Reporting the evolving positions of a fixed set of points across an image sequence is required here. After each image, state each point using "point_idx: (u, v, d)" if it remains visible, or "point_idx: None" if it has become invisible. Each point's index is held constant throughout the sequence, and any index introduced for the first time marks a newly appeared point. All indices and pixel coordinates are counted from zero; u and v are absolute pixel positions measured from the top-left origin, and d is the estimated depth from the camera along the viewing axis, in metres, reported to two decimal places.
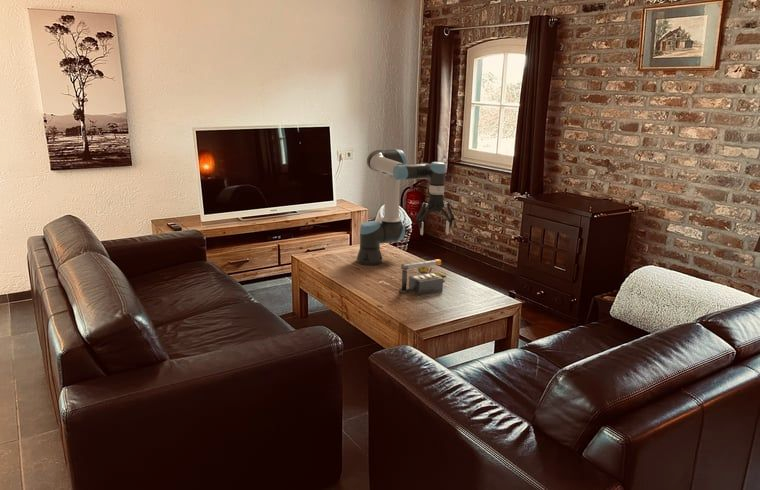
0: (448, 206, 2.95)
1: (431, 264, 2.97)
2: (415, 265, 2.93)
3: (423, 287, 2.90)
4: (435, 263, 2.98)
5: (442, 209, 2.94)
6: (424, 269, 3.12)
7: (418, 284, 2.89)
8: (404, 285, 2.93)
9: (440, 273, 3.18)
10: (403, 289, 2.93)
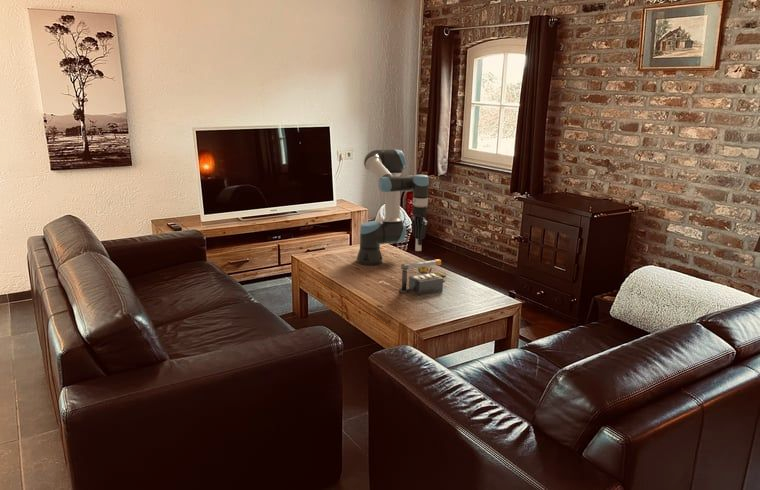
0: (422, 224, 2.92)
1: (431, 264, 2.97)
2: (415, 265, 2.93)
3: (423, 287, 2.90)
4: (435, 263, 2.98)
5: (418, 223, 2.95)
6: (424, 269, 3.12)
7: (418, 284, 2.89)
8: (404, 285, 2.93)
9: (440, 273, 3.18)
10: (403, 289, 2.93)
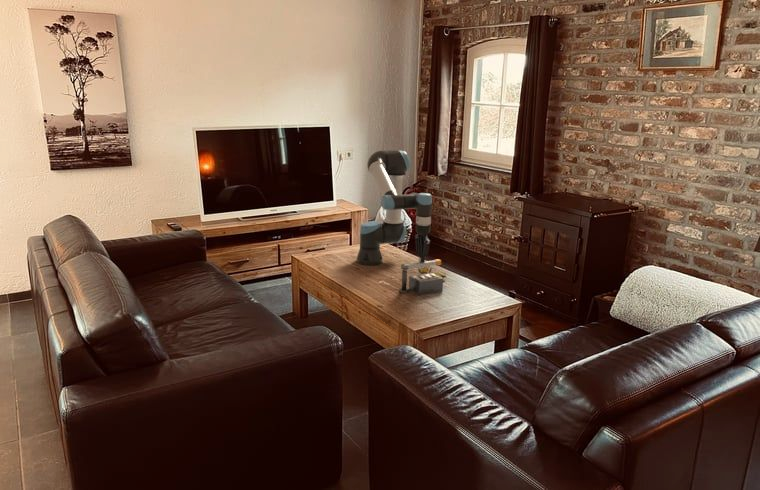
0: (425, 243, 2.91)
1: (431, 264, 2.97)
2: (415, 265, 2.93)
3: (423, 287, 2.90)
4: (435, 263, 2.98)
5: (421, 242, 2.94)
6: (424, 269, 3.12)
7: (418, 284, 2.89)
8: (404, 285, 2.93)
9: (440, 273, 3.18)
10: (403, 289, 2.93)
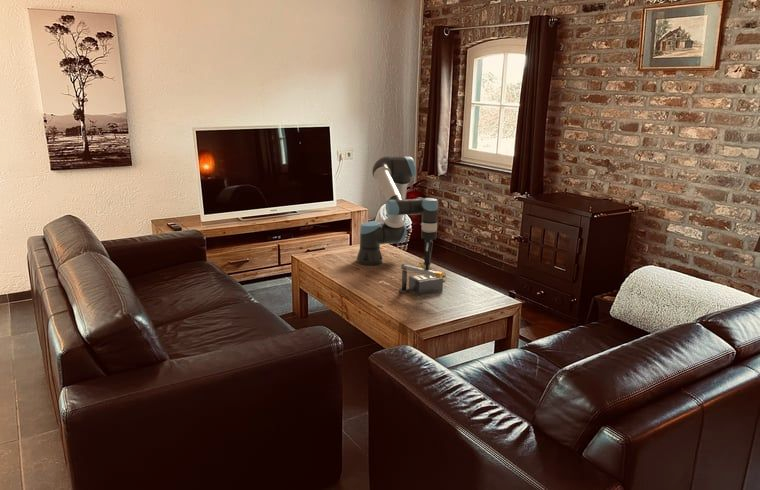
0: None
1: (430, 274, 2.82)
2: (413, 269, 2.87)
3: (423, 287, 2.90)
4: (434, 274, 2.81)
5: (424, 248, 2.83)
6: None
7: (418, 284, 2.89)
8: (404, 285, 2.93)
9: None
10: (403, 289, 2.93)
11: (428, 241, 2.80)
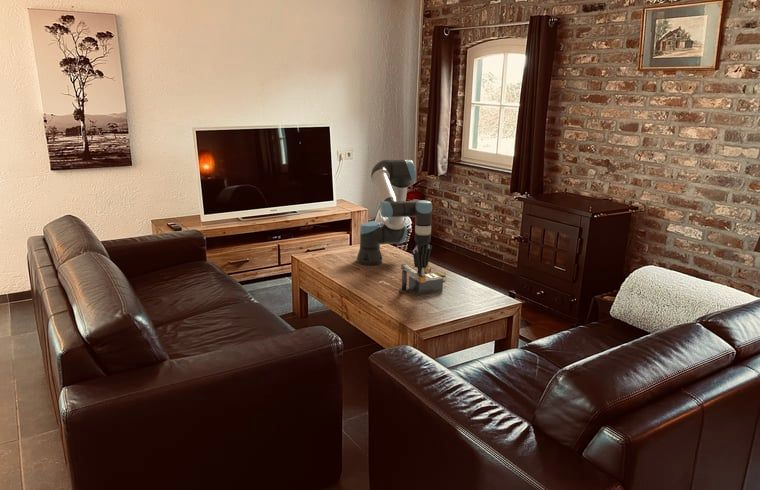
0: None
1: (416, 277, 2.77)
2: (407, 269, 2.86)
3: (423, 287, 2.90)
4: (418, 278, 2.75)
5: None
6: None
7: (418, 284, 2.89)
8: (404, 285, 2.93)
9: None
10: (403, 289, 2.93)
11: (417, 244, 2.75)
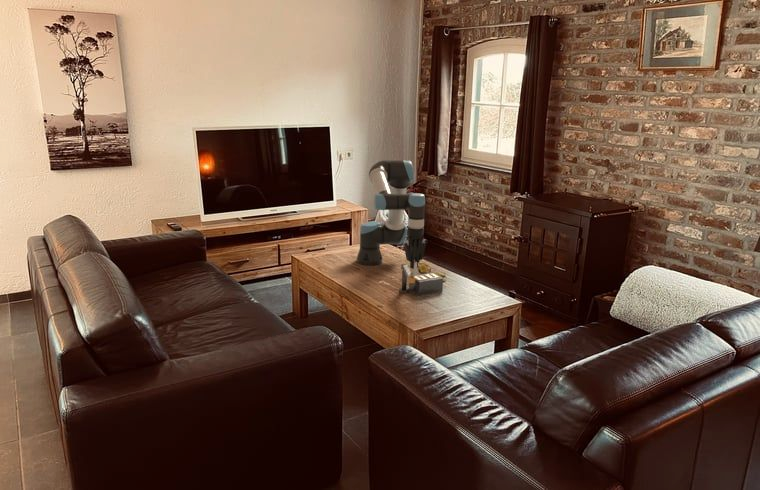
0: None
1: (408, 277, 2.77)
2: (404, 269, 2.86)
3: (423, 287, 2.90)
4: (408, 278, 2.74)
5: (410, 244, 2.76)
6: (425, 270, 3.11)
7: (418, 284, 2.89)
8: (404, 285, 2.93)
9: None
10: (403, 289, 2.93)
11: (409, 237, 2.72)
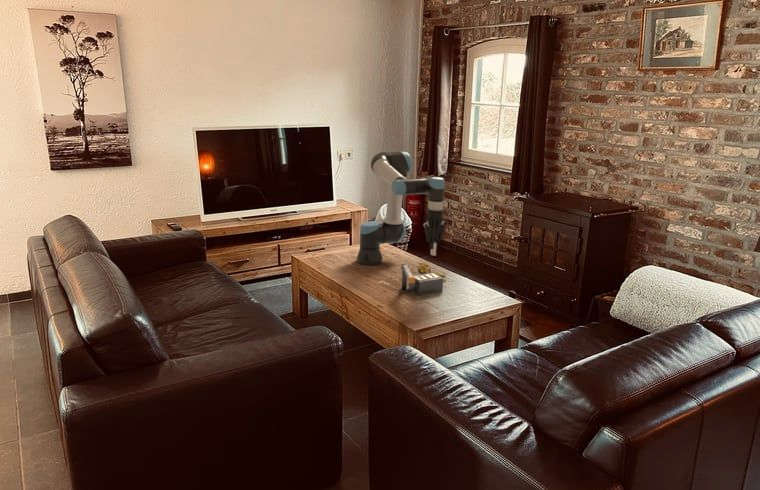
0: None
1: (408, 277, 2.77)
2: (404, 269, 2.86)
3: (423, 287, 2.90)
4: (408, 278, 2.74)
5: None
6: (425, 270, 3.11)
7: (418, 284, 2.89)
8: (404, 285, 2.93)
9: None
10: (403, 289, 2.93)
11: (429, 218, 2.87)
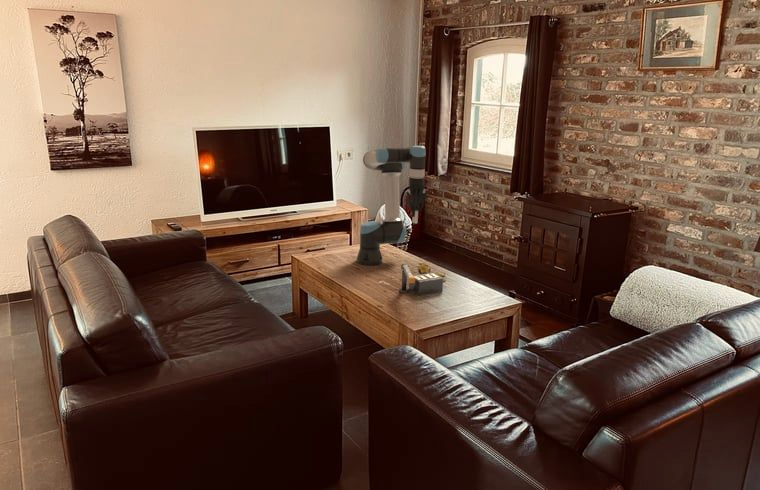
0: None
1: (408, 277, 2.77)
2: (404, 269, 2.86)
3: (423, 287, 2.90)
4: (408, 278, 2.74)
5: None
6: (425, 270, 3.11)
7: (418, 284, 2.89)
8: (404, 285, 2.93)
9: (439, 273, 3.17)
10: (403, 289, 2.93)
11: (410, 186, 2.92)
